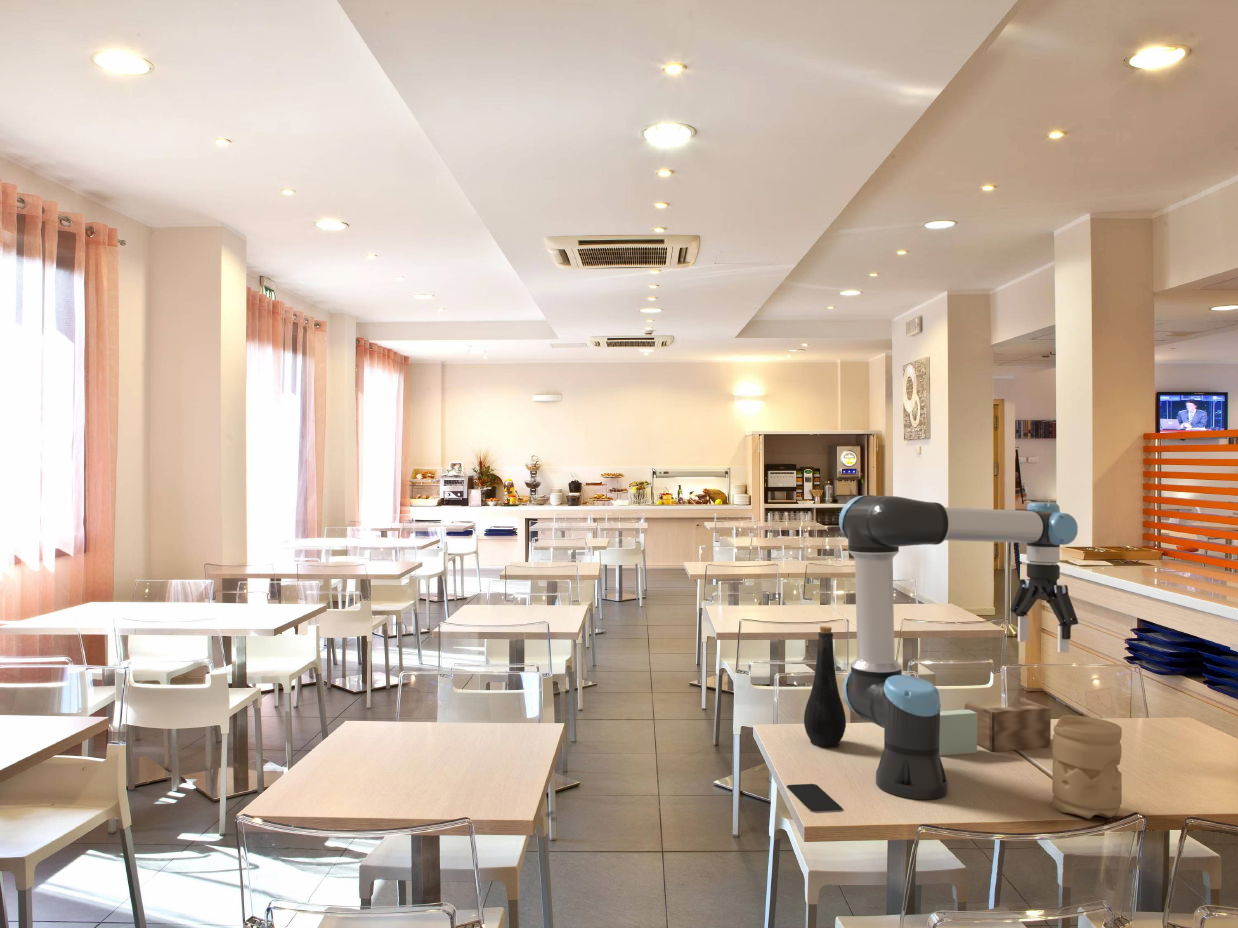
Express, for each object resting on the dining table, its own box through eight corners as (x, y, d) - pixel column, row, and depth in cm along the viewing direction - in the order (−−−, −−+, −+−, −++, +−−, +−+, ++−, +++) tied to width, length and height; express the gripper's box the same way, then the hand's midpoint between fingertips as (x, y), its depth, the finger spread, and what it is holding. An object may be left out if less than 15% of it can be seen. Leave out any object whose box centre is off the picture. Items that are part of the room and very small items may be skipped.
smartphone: (815, 783, 184) (844, 809, 169) (815, 786, 184) (844, 812, 169) (784, 784, 183) (810, 811, 168) (784, 787, 183) (810, 814, 168)
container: (1056, 816, 168) (1057, 728, 168) (1048, 795, 179) (1048, 712, 180) (1127, 826, 163) (1128, 735, 164) (1114, 803, 175) (1114, 719, 175)
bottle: (850, 741, 215) (851, 626, 215) (838, 752, 206) (839, 632, 206) (811, 734, 220) (812, 622, 221) (797, 744, 212) (799, 627, 212)
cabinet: (991, 751, 208) (991, 711, 209) (952, 733, 223) (952, 696, 224) (1050, 746, 213) (1050, 707, 213) (1007, 729, 228) (1008, 692, 228)
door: (935, 755, 205) (936, 715, 205) (928, 751, 208) (928, 711, 208) (977, 752, 208) (977, 712, 208) (968, 748, 211) (968, 709, 211)
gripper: (1094, 568, 198) (1094, 656, 198) (1020, 558, 223) (1019, 636, 222) (1069, 568, 196) (1068, 657, 196) (996, 558, 221) (995, 637, 220)
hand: (1042, 646), depth 209 cm, fingers open, 13 cm apart
